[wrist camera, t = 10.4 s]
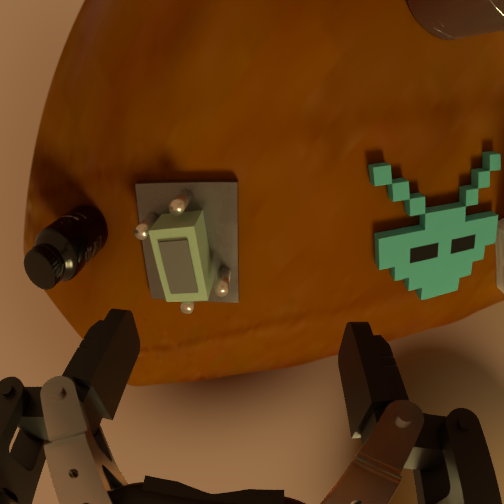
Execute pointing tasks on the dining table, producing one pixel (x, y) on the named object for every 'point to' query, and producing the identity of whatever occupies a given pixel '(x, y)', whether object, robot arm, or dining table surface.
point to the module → (182, 256)
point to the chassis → (216, 222)
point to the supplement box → (500, 255)
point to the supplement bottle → (66, 247)
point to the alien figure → (435, 233)
